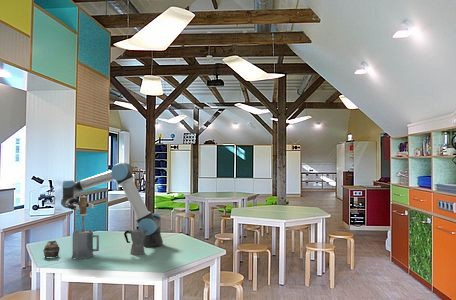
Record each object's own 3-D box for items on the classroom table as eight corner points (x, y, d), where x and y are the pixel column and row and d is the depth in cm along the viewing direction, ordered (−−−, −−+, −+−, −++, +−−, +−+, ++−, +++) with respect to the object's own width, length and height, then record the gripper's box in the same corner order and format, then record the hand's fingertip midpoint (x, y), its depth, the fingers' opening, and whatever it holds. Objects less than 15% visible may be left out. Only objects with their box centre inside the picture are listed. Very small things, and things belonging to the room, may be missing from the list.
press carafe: (100, 255, 252) (100, 231, 252) (85, 260, 240) (85, 234, 240) (83, 253, 258) (83, 229, 259) (67, 257, 247) (67, 232, 247)
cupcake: (41, 256, 250) (41, 241, 251) (57, 254, 256) (57, 239, 256) (45, 259, 243) (45, 243, 243) (61, 257, 249) (61, 241, 249)
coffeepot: (147, 251, 264) (147, 224, 264) (148, 254, 255) (148, 227, 255) (123, 252, 259) (123, 226, 260) (124, 256, 250) (124, 228, 251)
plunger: (92, 232, 252) (92, 196, 253) (82, 234, 245) (82, 197, 245) (83, 231, 255) (83, 196, 256) (73, 233, 248) (73, 197, 249)
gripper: (88, 208, 271) (102, 211, 254) (56, 210, 257) (68, 214, 240) (88, 197, 271) (102, 199, 254) (56, 199, 257) (68, 202, 240)
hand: (85, 206), depth 247 cm, fingers open, 9 cm apart
